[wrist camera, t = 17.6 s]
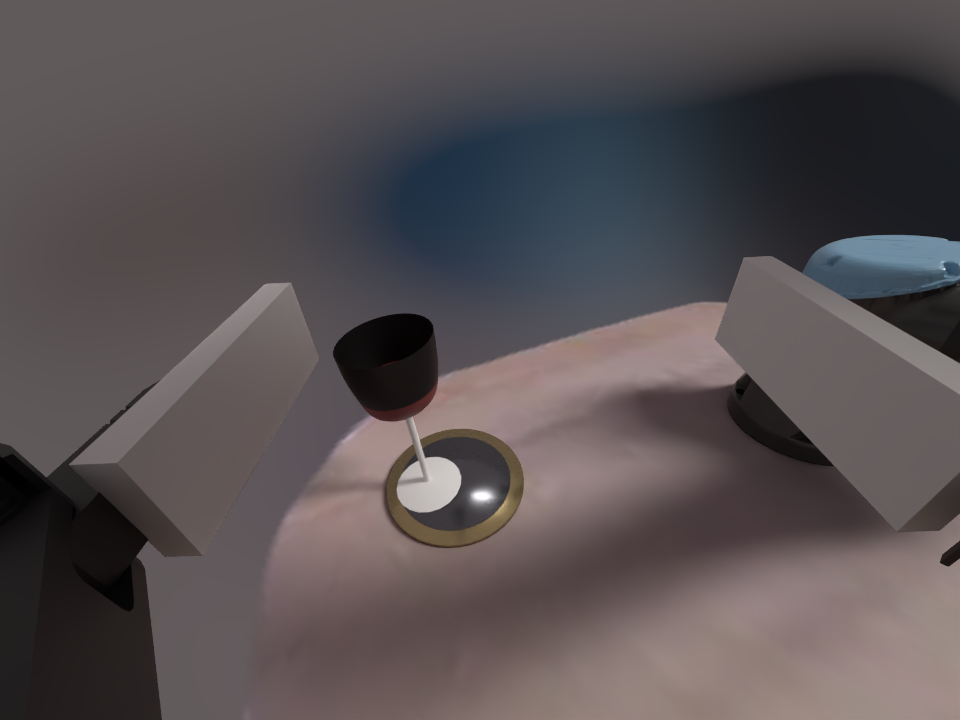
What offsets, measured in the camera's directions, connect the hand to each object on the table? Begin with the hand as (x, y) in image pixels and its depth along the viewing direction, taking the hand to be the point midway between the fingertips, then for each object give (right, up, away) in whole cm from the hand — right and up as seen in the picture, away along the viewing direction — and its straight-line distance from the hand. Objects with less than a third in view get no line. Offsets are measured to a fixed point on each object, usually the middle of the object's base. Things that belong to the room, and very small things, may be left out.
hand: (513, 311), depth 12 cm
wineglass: (-7, -16, +33) cm, 37 cm away
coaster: (-4, -16, +33) cm, 37 cm away
